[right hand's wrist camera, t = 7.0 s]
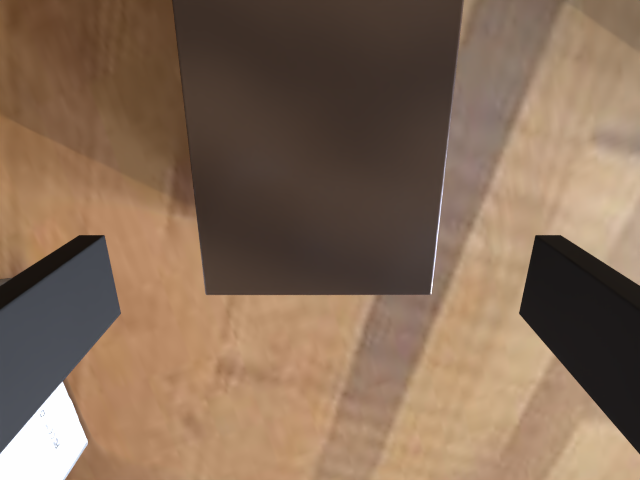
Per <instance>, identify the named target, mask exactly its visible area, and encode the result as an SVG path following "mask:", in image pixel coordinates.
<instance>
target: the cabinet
mask: <svg viewBox="0 0 640 480" xmlns="http://www.w3.org/2000/svg"><path fill="white" fill-rule="evenodd" d="M172 2H173V11H174V20H175V29H176V38H177V46H178V55H179V64H180V73H181V82H182V90H183V99H184V108H185V117H186V126H187V134H188V143H189V152H190V161H191V170H192V179H193V187H194V196H195V205H196V214H197V223H198V231H199V240H200V249H201V258H202V267H203V275H204V284H205V293H206V295H431V293H432V284H433V275H434V266H435V257H436V248H437V239H438V230H439V221H440V212H441V203H442V194H443V184H444V175H445V166H446V157H447V148H448V139H449V130H450V121H451V112H452V103H453V94H454V85H455V76H456V67H457V58H458V49H459V40H460V31H461V22H462V13H463V4H464V0H172Z"/></svg>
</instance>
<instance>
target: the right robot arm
mask: <svg viewBox="0 0 640 480" xmlns="http://www.w3.org/2000/svg"><path fill="white" fill-rule="evenodd" d="M120 314H121V312H120V307H119V302H118V297H117V293H116V288H115V283H114V278H113V274H112V269H111V264H110V259H109V255H108V250H107V245H106V240H105V236H104V235H79V236H77V237H76V238H74V239H73V240H71V241H70V242H68V243H66V244H65V245H63V246H62V247H60V248H59V249H57V250H56V251H54V252H52V253H51V254H49V255H48V256H46V257H45V258H43V259H41V260H40V261H38V262H37V263H35V264H34V265H32V266H31V267H29V268H27V269H26V270H24V271H23V272H21V273H20V274H18V275H16V276H15V277H13V278H12V279H10V280H9V281H7V282H5V283H4V284H2V285H1V286H0V454H1V453H2V451H3V450H4V449H5V448H6V447H7V446H8V444H9V443H10V442H11V441H12V440H13V439H14V437H15V436H16V435H17V434H18V433H19V432H20V431H21V429H22V428H23V427H24V426H25V425H26V424H27V422H28V421H29V420H30V419H31V418H32V417H33V415H34V414H35V413H36V412H37V411H38V410H39V408H40V407H41V406H42V405H43V404H44V403H45V401H46V400H47V399H48V398H49V397H50V396H51V394H52V393H53V392H54V391H55V390H56V389H57V387H58V386H59V385H60V384H61V383H62V382H63V380H64V379H65V378H66V377H67V376H68V375H69V373H70V372H71V371H72V370H73V369H74V368H75V366H76V365H77V364H78V363H79V362H80V361H81V359H82V358H83V357H84V356H85V355H86V354H87V352H88V351H89V350H90V349H91V348H92V347H93V345H94V344H95V343H96V342H97V341H98V340H99V338H100V337H101V336H102V335H103V334H104V333H105V331H106V330H107V329H108V328H109V327H110V326H111V324H112V323H113V322H114V321H115V320H116V319H117V317H118V316H119V315H120ZM519 314H520V315H521V316H522V317H523V319H524V320H525V321H526V322H527V323H528V324H529V326H530V327H531V328H532V329H533V330H534V331H535V333H536V334H537V335H538V336H539V337H540V338H541V340H542V341H543V342H544V343H545V344H546V345H547V347H548V348H549V349H550V350H551V351H552V352H553V354H554V355H555V356H556V357H557V358H558V359H559V361H560V362H561V363H562V364H563V365H564V366H565V368H566V369H567V370H568V371H569V372H570V373H571V375H572V376H573V377H574V378H575V379H576V380H577V382H578V383H579V384H580V385H581V386H582V387H583V389H584V390H585V391H586V392H587V393H588V394H589V396H590V397H591V398H592V399H593V400H594V401H595V403H596V404H597V405H598V406H599V407H600V408H601V410H602V411H603V412H604V413H605V414H606V415H607V417H608V418H609V419H610V420H611V421H612V422H613V424H614V425H615V426H616V427H617V428H618V429H619V431H620V432H621V433H622V434H623V435H624V436H625V437H626V439H627V440H628V441H629V442H630V443H631V444H632V446H633V447H634V448H635V449H636V450H637V451H638V453H639V454H640V286H639V285H638V284H636V283H635V282H633V281H631V280H630V279H628V278H627V277H625V276H624V275H622V274H620V273H619V272H617V271H616V270H614V269H613V268H611V267H609V266H608V265H606V264H605V263H603V262H602V261H600V260H599V259H597V258H595V257H594V256H592V255H591V254H589V253H588V252H586V251H584V250H583V249H581V248H580V247H578V246H577V245H575V244H574V243H572V242H570V241H569V240H567V239H566V238H564V237H563V236H561V235H536V236H535V240H534V245H533V250H532V255H531V259H530V264H529V269H528V274H527V278H526V283H525V288H524V293H523V297H522V302H521V307H520V312H519Z"/></svg>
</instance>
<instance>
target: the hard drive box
mask: <svg viewBox="0 0 640 480" xmlns="http://www.w3.org/2000/svg"><path fill="white" fill-rule="evenodd" d="M10 279H12V278H7V279H0V286H1V285H2V284H4V283H5V282H7V281H9V280H10ZM87 444H88V441H87V438H86V436H85V434H84V431H83V429H82V427H81V424H80V422H79V419H78V416H77V414H76V411H75V409H74V406H73V403H72V401H71V399H70V398H69V396H68V394H67V391H66V389H65V386H64V384H63V382H62V383H61V384H60V385H59V386H58V387H57V389H56V390H55V391H54V392H53V393H52V394H51V396H50V397H49V398H48V399H47V400H46V401H45V403H44V404H43V405H42V406H41V407H40V408H39V410H38V411H37V412H36V413H35V414H34V415H33V417H32V418H31V419H30V420H29V421H28V422H27V424H26V425H25V426H24V427H23V428H22V429H21V431H20V432H19V433H18V434H17V435H16V436H15V437H14V439H13V440H12V441H11V442H10V443H9V444H8V446H7V447H6V448H5V449H4V450H3V451H2V453H1V454H0V480H65V478H66V477H67V475H68V474H69V472H70V471H71V469H72V468H73V466H74V464H75V463H76V461H77V460H78V458H79V457H80V455H81V453H82V452H83V450H84V449H85V447H86V446H87Z"/></svg>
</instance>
